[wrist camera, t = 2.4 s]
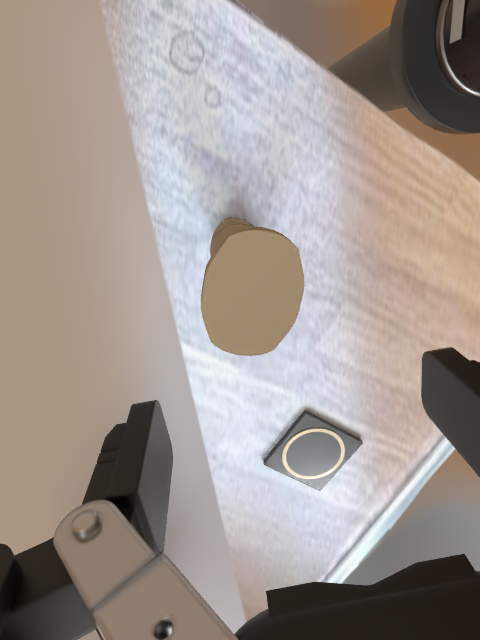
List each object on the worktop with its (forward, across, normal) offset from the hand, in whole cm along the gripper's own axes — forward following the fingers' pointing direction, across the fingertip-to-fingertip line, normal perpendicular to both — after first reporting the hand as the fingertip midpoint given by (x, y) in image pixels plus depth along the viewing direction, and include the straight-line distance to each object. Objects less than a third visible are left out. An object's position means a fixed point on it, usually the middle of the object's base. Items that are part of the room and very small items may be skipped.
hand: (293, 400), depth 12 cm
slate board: (+23, -4, +23) cm, 33 cm away
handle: (+24, 0, 0) cm, 24 cm away
